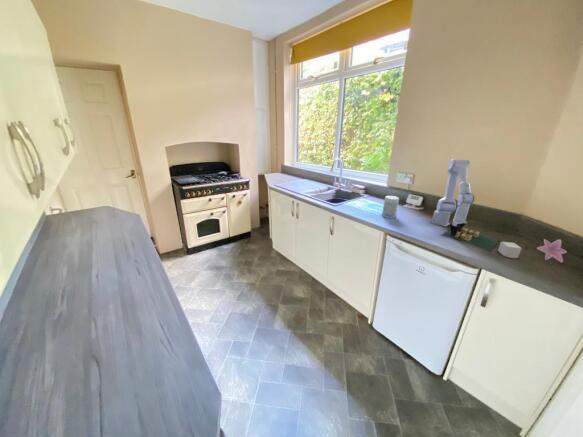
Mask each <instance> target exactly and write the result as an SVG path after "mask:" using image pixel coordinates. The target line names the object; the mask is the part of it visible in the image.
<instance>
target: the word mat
mask: <svg viewBox="0 0 583 437" xmlns="http://www.w3.org/2000/svg"><path fill="white" fill-rule="evenodd" d="M450 232H451V229H449V230H448V231H446V232H444V233H443V234H442V236H444V237H447V238H450V239H453V240H456V241H458V242H462V243H465V244H467V245H471V246H474V247H477V248H480V249H483V250H486V251H491V250H492V249H493V248H494V247H495V246H496V245H497V243H499V240H498V239H495V238H491V237H487V236H486V235H485V236H484V235H481V234H479V236H477V237H473V236H472V239H471V240H470V241H466V240H463V239H460V238H461V235H462V234H463V233H461V234H460V236H459V237H454V236H451V235H449V234H450ZM468 233H469V231H468V232H467V233H466V234H468Z"/></svg>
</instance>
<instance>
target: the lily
mask: <svg viewBox="0 0 583 437" xmlns="http://www.w3.org/2000/svg"><path fill="white" fill-rule="evenodd" d="M543 244H544V245H540V246H538V247H537V246H536V250H538V251H541V254H542V255H543V254H545V255H544V261H548V260H551V258H553V259H555V260H556V261H558V262H559V263H561V264H563V263H564V258H563V255H562V254H566V253H568V251H567V250H566V249H564V248H562V239H561V238H560V239H556V240H555V241H552V242H550V241H549V240H547V239H546V238H543Z"/></svg>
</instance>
